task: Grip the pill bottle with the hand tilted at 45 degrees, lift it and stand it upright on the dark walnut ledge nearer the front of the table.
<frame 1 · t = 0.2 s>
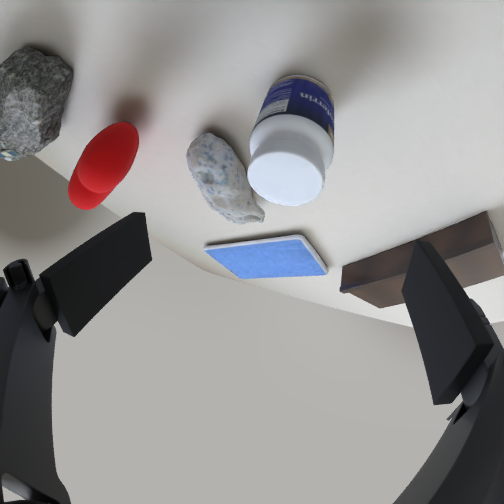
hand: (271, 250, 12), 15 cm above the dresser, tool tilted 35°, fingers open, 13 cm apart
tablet: (265, 255, 48), on the dresser
rock: (39, 90, 21), on the dresser
decorative stone: (229, 170, 31), on the dresser
pill bottle: (300, 99, 21), on the dresser
ledge: (424, 259, 36), on the dresser
heart: (129, 127, 27), on the dresser
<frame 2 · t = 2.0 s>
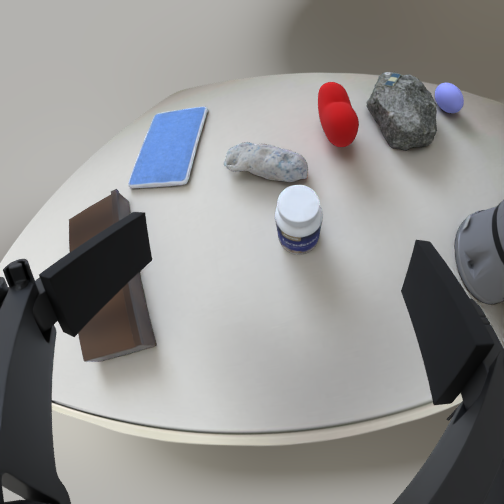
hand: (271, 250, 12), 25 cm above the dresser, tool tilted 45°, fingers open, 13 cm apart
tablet: (170, 146, 49), on the dresser
rock: (398, 121, 43), on the dresser
decorative stone: (267, 168, 43), on the dresser
sphere: (444, 109, 42), on the dresser
pill bottle: (298, 236, 39), on the dresser
ledge: (110, 278, 41), on the dresser
heart: (334, 140, 43), on the dresser
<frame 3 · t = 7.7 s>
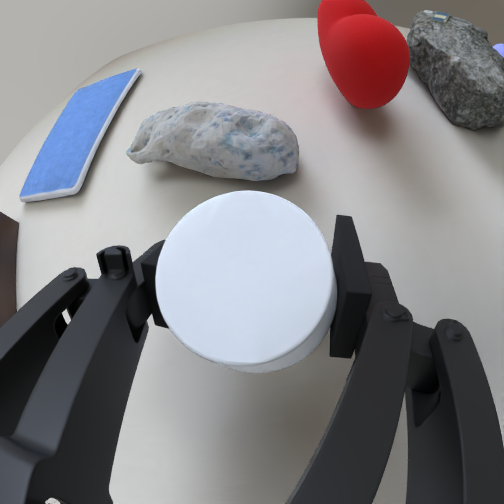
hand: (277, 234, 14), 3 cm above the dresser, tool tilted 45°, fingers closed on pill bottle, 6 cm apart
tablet: (80, 132, 26), on the dresser
rock: (450, 86, 20), on the dresser
decorative stone: (216, 155, 21), on the dresser
sphere: (500, 81, 20), on the dresser
pill bottle: (272, 313, 16), on the dresser, touching gripper
heart: (351, 102, 21), on the dresser
when the fingers open (7 cm above the dresser, at t = 17.9 s): pill bottle stays where it is, resting on ledge.
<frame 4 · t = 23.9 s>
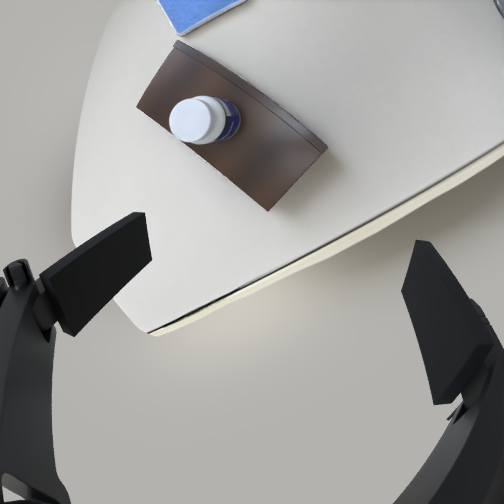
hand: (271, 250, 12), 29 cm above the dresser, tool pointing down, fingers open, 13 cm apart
pill bottle: (221, 119, 33), point 4 cm above the dresser, touching ledge
ledge: (230, 119, 37), on the dresser
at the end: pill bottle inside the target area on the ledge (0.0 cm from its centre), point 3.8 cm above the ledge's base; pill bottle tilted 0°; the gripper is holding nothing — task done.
